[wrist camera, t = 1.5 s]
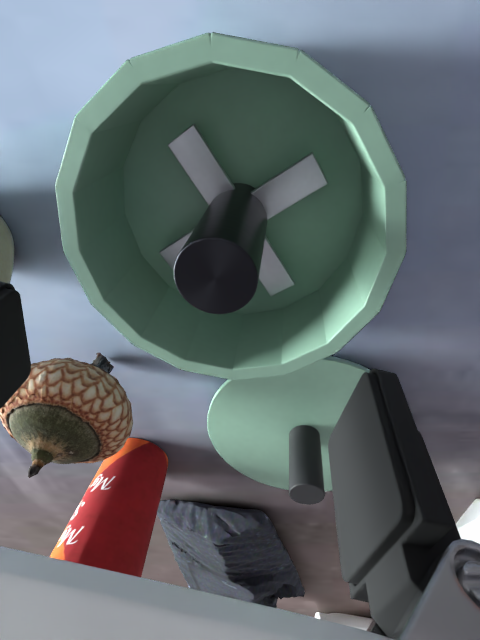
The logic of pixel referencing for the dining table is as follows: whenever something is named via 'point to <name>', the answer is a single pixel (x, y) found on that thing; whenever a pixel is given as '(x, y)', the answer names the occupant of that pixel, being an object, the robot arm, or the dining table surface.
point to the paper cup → (117, 511)
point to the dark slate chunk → (229, 552)
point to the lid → (284, 425)
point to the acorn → (69, 413)
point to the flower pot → (6, 252)
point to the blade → (233, 229)
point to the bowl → (241, 167)
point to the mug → (346, 620)
